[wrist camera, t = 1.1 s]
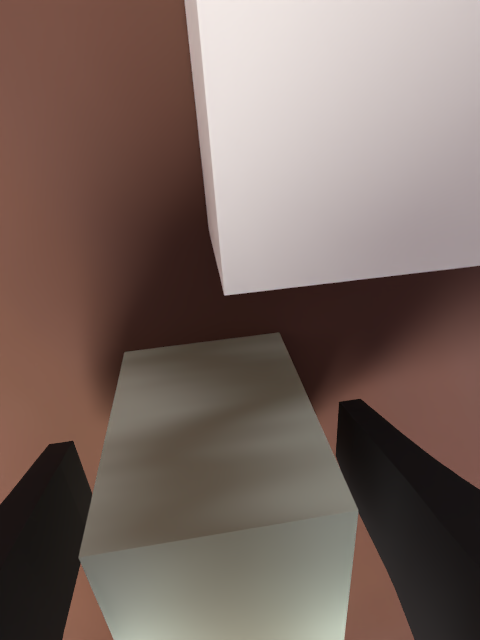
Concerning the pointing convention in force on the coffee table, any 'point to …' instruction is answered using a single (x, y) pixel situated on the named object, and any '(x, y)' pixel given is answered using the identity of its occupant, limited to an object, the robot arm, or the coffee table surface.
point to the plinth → (337, 137)
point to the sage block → (218, 501)
